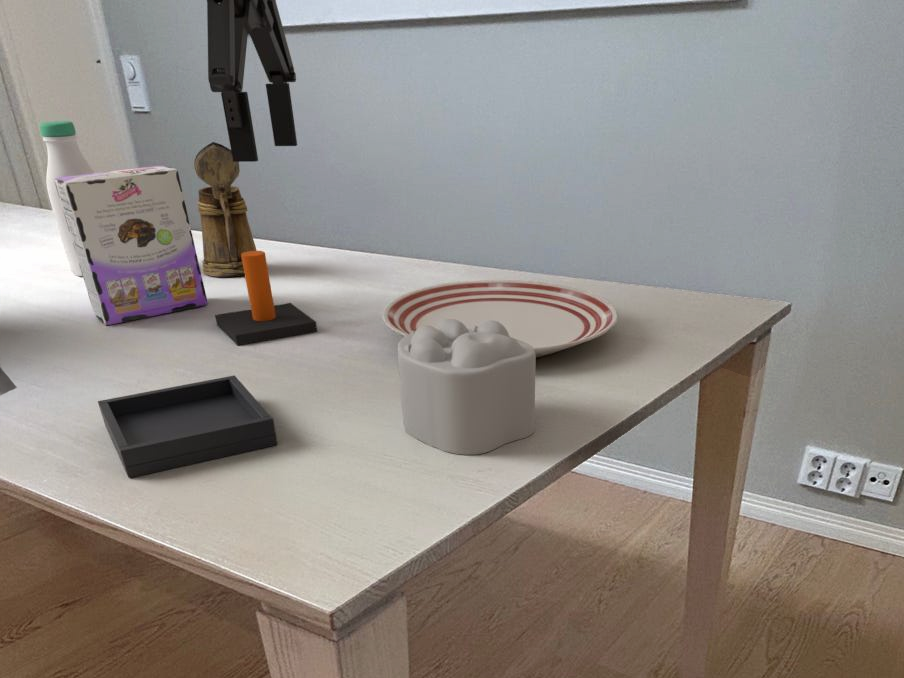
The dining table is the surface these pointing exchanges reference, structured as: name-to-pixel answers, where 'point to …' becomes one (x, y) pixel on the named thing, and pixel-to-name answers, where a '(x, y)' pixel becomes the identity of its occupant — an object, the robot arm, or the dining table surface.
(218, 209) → the wooden mug
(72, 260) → the milk bottle
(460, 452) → the lumpy-topped squat cylinder
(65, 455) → the dining table surface
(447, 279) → the dining table surface
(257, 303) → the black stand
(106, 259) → the candy box
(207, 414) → the shallow rectangular tray
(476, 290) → the dinner plate
